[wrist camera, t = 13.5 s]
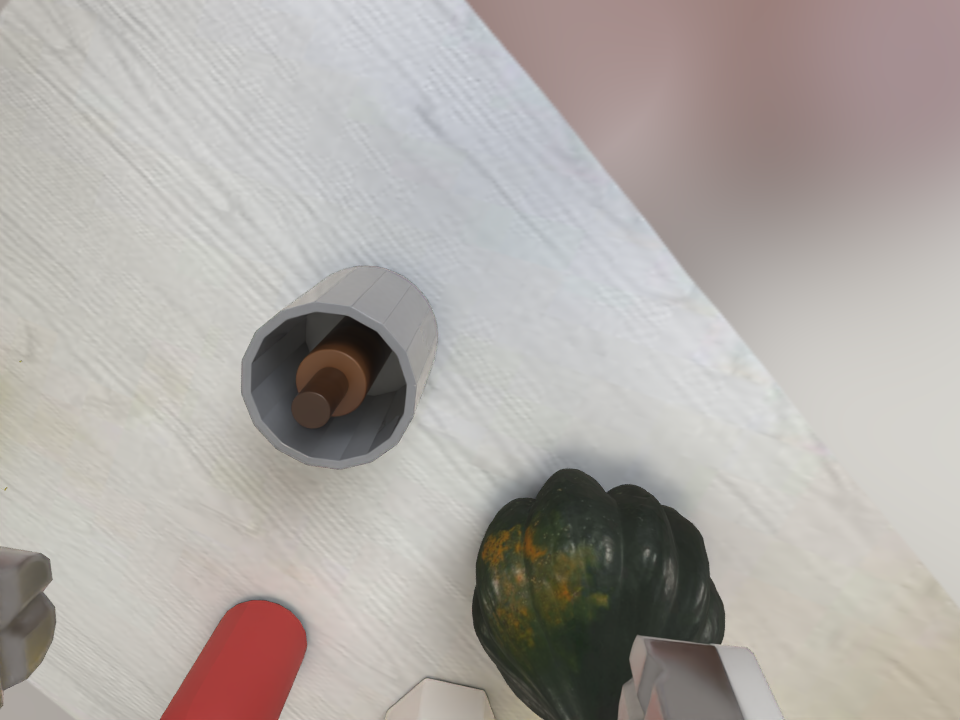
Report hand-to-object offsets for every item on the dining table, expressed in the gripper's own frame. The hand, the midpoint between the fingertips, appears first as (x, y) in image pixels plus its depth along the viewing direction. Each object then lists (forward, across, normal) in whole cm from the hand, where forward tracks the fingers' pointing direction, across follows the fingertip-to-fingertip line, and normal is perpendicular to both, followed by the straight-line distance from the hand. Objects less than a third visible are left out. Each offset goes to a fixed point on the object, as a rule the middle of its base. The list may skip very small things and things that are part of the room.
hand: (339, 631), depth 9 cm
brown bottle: (+32, +6, +6) cm, 33 cm away
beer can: (+33, +12, +30) cm, 46 cm away
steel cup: (+33, +6, +6) cm, 34 cm away
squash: (+33, -10, +19) cm, 40 cm away
